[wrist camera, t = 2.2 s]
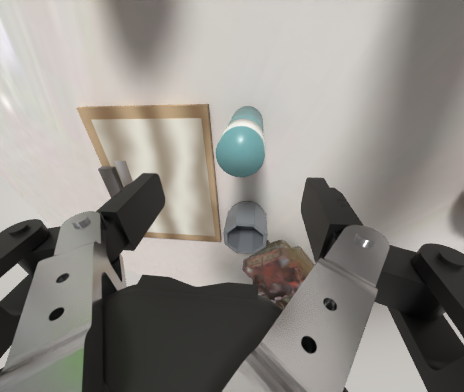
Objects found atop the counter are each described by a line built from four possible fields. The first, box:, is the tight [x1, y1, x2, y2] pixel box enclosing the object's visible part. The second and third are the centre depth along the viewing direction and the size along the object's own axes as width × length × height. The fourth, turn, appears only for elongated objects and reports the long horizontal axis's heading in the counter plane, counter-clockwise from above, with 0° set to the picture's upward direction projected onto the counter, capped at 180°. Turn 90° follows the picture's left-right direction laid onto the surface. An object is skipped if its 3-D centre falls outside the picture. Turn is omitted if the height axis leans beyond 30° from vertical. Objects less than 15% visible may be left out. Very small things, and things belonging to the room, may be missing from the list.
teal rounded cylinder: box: [216, 106, 265, 177], centre depth 20 cm, size 4×4×12 cm
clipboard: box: [77, 104, 221, 242], centre depth 31 cm, size 18×24×2 cm
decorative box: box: [243, 240, 315, 310], centre depth 35 cm, size 13×20×10 cm, turn 31°
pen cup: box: [224, 201, 267, 254], centre depth 31 cm, size 6×6×6 cm
